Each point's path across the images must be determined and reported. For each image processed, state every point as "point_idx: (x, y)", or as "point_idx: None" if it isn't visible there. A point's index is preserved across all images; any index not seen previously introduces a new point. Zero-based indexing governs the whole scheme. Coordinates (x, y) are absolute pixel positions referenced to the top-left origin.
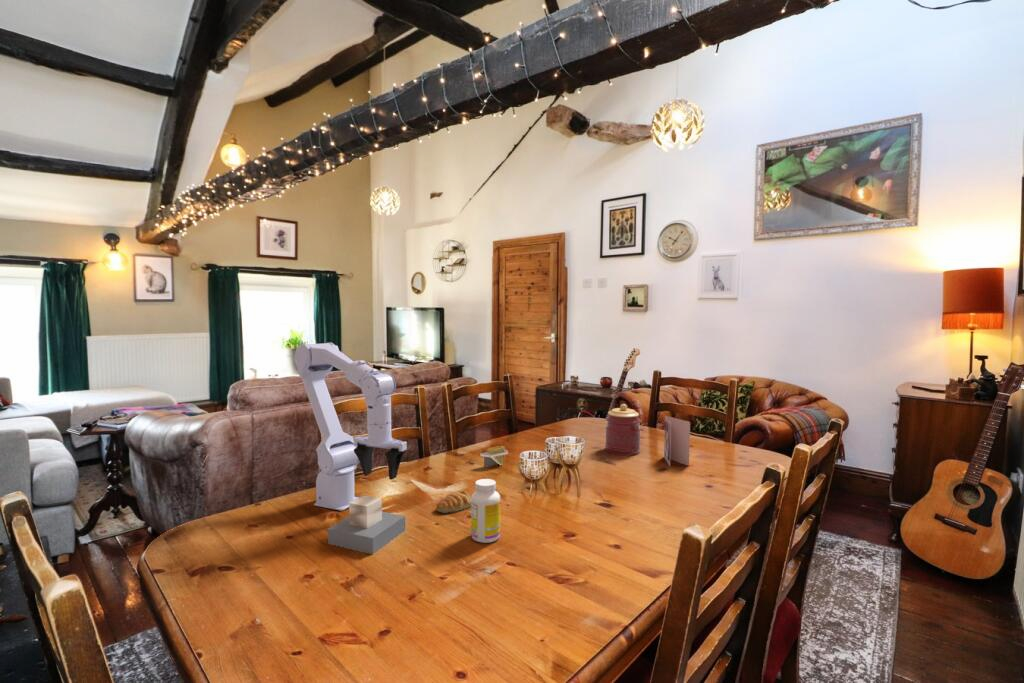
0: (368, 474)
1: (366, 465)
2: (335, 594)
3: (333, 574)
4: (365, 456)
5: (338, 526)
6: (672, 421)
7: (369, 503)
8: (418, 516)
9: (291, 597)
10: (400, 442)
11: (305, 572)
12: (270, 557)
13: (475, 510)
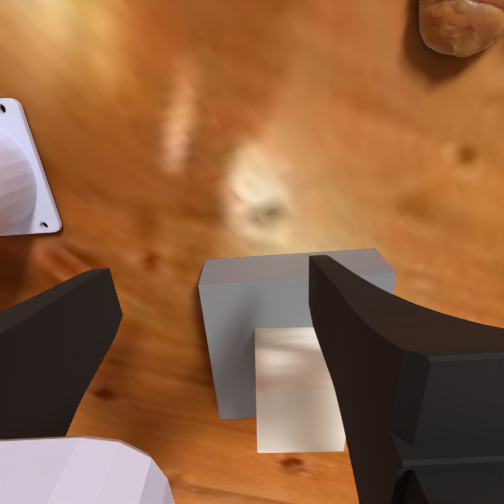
0: (116, 293)
1: (86, 353)
2: None
3: None
4: (39, 429)
5: (235, 402)
6: None
7: (335, 433)
8: (364, 130)
9: (313, 498)
10: None
11: (274, 458)
12: (161, 453)
13: None
